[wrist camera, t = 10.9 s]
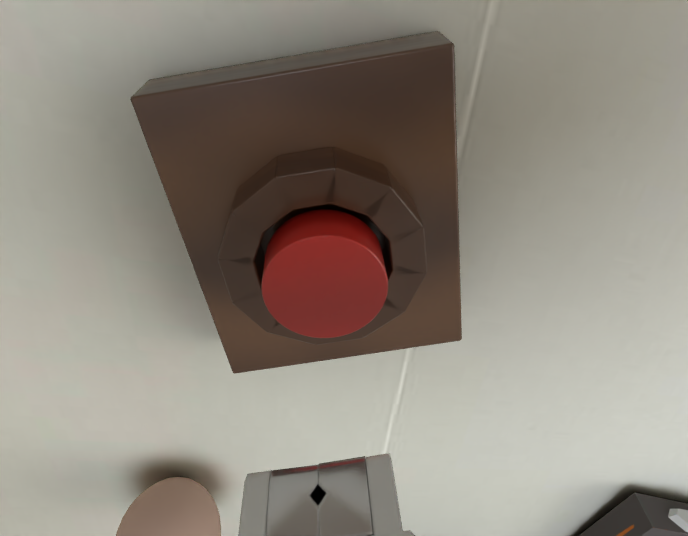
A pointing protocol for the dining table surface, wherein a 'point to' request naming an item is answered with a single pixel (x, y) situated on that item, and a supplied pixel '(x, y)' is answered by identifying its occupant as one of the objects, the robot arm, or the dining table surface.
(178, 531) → the egg
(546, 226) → the dining table surface
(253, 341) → the button block
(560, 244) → the dining table surface
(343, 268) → the button
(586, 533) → the electronic device
